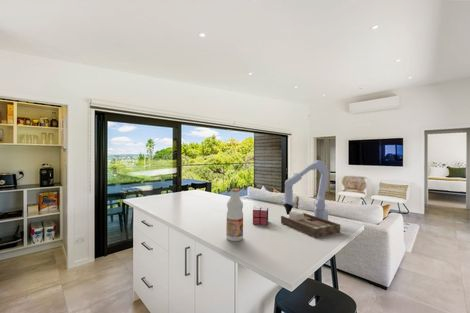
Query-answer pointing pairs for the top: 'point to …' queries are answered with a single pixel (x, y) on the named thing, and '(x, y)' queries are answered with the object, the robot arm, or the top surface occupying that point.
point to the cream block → (296, 215)
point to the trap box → (312, 225)
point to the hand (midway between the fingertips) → (288, 214)
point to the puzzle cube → (260, 215)
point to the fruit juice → (234, 217)
